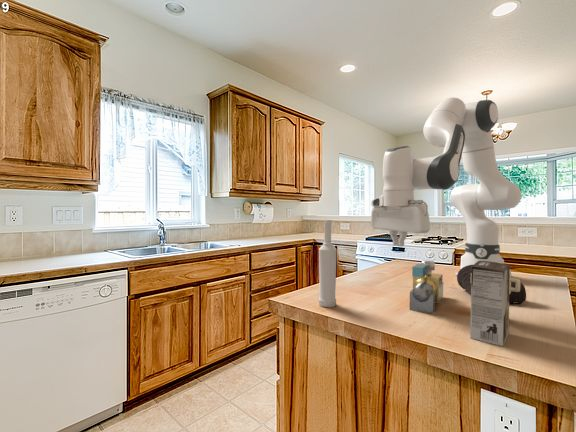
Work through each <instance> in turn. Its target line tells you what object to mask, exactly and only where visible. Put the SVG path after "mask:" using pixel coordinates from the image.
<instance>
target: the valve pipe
mask: <svg viewBox="0 0 576 432" xmlns="http://www.w3.org/2000/svg"><path fill="white" fill-rule="evenodd" d="M442 299H444V281H443V274H442V273H434V272H433V270H432V271H428V272H427V275H425V276H424V277H423V278H422V277H414V276H412V289H411V290H410V291H409V310H411V311H416V312H421V313H426V314H432V315H433V314H434V312H435V310H436V309H435V307H436V306H435V305H436V303H437V304H439V303H440V301H441V300H442Z"/></svg>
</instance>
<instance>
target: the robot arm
mask: <svg viewBox="0 0 576 432" xmlns="http://www.w3.org/2000/svg"><path fill="white" fill-rule="evenodd" d="M498 120H499V110H498V107H497V104H496V102H494V101H493V100H491V99H484V100H483V99H482V100H481V99H480V100H478V101H477V102H470V103H465V102H464V101H463V100H462V99H460V98H458V97H447V98H445V99H444V100H442V101H441V102H439V104H437V106H435V108H434V109H433V110H432V112H430V114H429V116H428V118H427V119H426V121H425V123H424V125H423V129H422V130H423V131H422V132H423V136H424V138H425V140H426V141H427V142H428V143H429V144H431V145H432V146H434V147H439V148H443V152H442V153H440V154H438V155H435V156H429V157H422V158H417V157H415V156H414V155H413V150H412V147H411V146H409V145H403V146H397V147H393V148H388V149H387V150H385V151H384V154H383V161H382V180H383V188H382V194H380V195H379V196H378V197H376V198H373V199H372V200H371V201H370V202H371V203H370V204H371V206H372V208H371V211H370V212H371V213H370V215H371V216H370V217H371V218H370V223H371V226H372V228H373V230H381V231H389V235H390V238H391V239H392V245H393V246H396V247H400V248H401V247H404V246H405V240H406V238H407V236H408V233H410V234H426V233H429V231H430V230H431V224H430V223H431V221H430V214H429V207H428V206H429V205H428V204H427V203H426V201H424V200H423V199H418V200H416V199H415V190H422V191H423V190H449V189H451V188H452V187H453V186H454V185H455V184H456V183H457V182H458V179H459V177H460V163H461V159H462V166H463V170H464V172H465V173H466V174H468V175H470V176H472V177H474V178H475V179H476V180H477V181H478V182H479V183H466V184H463V185H461V184H460V185H459V186H455V187H454V188H453V189H452V190H451V192H450V194H449V200H450V201H449V202H450V203H451V205H452V207H454V208H455V209H456V210H457V211H459V213H460V215H461V216H462V218H463V219H464V222H465V228H466V229H465V230H466V243H465V246H464V249H465V250H464V251H465V253H463V254H462V255H461V256H460V269H462V268H463V267H465V266H468V265H474V264H475V263H476V262H478V261H489V262H496V263H503V264H505V260H504V259H503V257H502V256H501V255H500V251H501V248H500V246H501V245H500V244H499V240H500V239H499V234H500V233H499V231H500V229H499V225H498V224H497V223H496V222H495V221H494V220H492V219H490V218H488V217H487V215H486V214H485V211H502V210H503V211H505V210H509V209H514V208H516V207H517V206H518V205H519V203H520V202H521V199H522V192H521V189H520V187H519V186H518V185H517V184H516V183H514V182H512V181H511V180H510V179H508V178H507V177H505V176H504V175H503V173H502V172H501V171H500V168H499V167H498V163H497V160H496V155H495V154H496V153H495V152H496V151H495V146H494V140H493V135H492V131H491V130H492V129H493V128H494V127H495V125H496V124H497V122H498ZM459 271H460V270H459ZM459 271H456V272H455V276H457V275H458V272H459Z"/></svg>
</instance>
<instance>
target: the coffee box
mask: <svg viewBox="0 0 576 432" xmlns="http://www.w3.org/2000/svg"><path fill="white" fill-rule="evenodd" d="M510 267H511V265H510V263H504V264H503V263H496V262H489V261H478V262H476V263H475V264H474V265H473V266H472V271H471V295H470V319H469V320H470V321H469V322H470V327H469V328H470V331H469V333H470V334H469V335H470V337H469V338H470V339H472V340H475V341H480V342H484V343H488V344H493V345H496V346H501V347H504V346H505V345H506V341H507V338H508V335H509V331H510V302H509V281H510V270H511V268H510Z"/></svg>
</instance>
